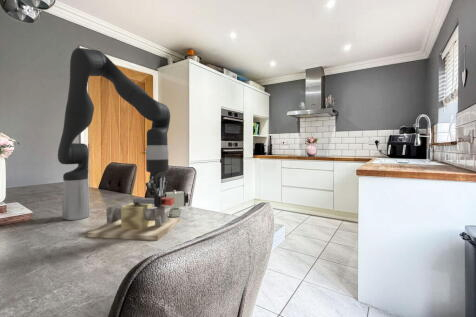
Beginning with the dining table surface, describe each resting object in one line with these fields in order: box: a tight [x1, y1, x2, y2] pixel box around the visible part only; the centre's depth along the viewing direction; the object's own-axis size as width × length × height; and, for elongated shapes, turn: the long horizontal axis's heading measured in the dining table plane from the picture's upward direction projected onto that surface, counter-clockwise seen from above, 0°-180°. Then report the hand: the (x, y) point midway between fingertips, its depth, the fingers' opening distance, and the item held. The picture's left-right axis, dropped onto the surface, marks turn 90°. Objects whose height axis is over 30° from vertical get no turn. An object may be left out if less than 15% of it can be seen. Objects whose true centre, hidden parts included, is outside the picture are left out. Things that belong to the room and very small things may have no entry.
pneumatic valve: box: [162, 189, 190, 218], centre depth 107 cm, size 6×12×12 cm, turn 111°
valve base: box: [87, 202, 181, 241], centre depth 91 cm, size 26×20×10 cm
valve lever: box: [132, 197, 174, 205], centre depth 89 cm, size 16×3×2 cm, turn 83°
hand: (158, 206), depth 85 cm, fingers closed
